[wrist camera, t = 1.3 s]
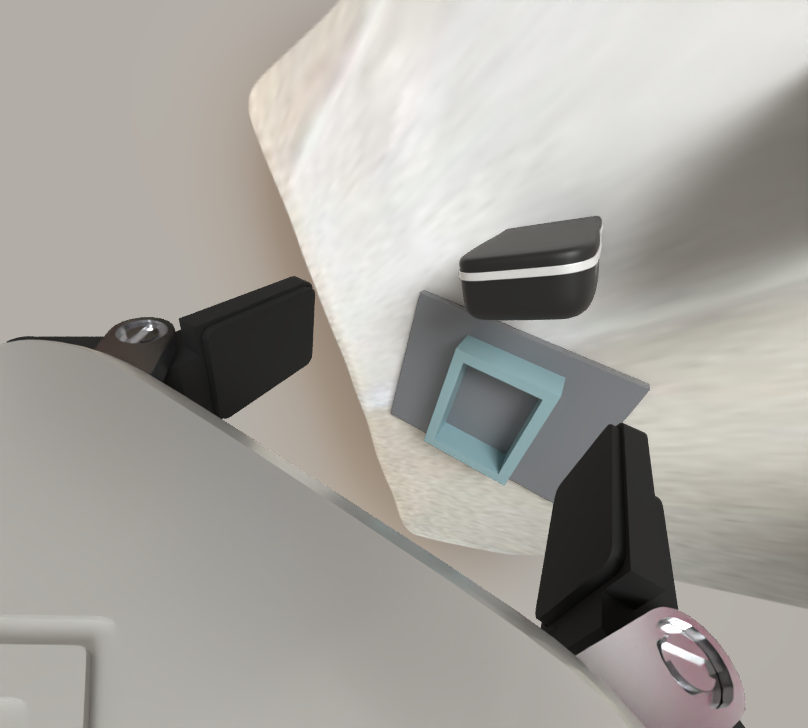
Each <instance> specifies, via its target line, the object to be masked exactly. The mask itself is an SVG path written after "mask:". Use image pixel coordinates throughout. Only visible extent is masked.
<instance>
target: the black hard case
mask: <svg viewBox="0 0 808 728" xmlns="http://www.w3.org/2000/svg"><path fill="white" fill-rule="evenodd" d="M602 232H603V226H602V220H601V218H600V217H599V216H593V217H586V218H579V219H572V220H565V221H558V222H551V223H545V224H538V225H531V226H524V227H518V228H511V229H507V230H505V231H503V232H502V233H500V234H499V235H497V236H495V237H494V238H492V239H490V240H488V241H486V242H485V243H483V244H481V245H479V246H478V247H476V248H474V249H473V250H471V251H470V252H468V253H467V254H465V255H464V256H463V257H462V258H461V259H460V269H459V278H460V279H461V281H462V289H463V297H464V303H465V307H466V310H467V311H468V313H469V314H470V315H471V316H473V317H474V318H476V319H481V320H550V319H567V318H571V317H574V316H578V315H579V314H581V313H582V312H584V311H585V310H586V309H587V308H588V307H589V305H590V303H591V302H592V300H593V297H594V294H595V291H596V287H597V281H598V271H599V257H600V254H601V244H602V241H601V234H602Z"/></svg>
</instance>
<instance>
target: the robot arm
mask: <svg viewBox="0 0 808 728" xmlns="http://www.w3.org/2000/svg"><path fill="white" fill-rule="evenodd" d="M314 304H315V292H314V290H313V289H312V285H311V284H310V283H309V282H307V281H304V280H302V279H300V278H298V277H295V276H293V277H289V278H287V279H284V280H281V281H279V282H276V283H273V284H271V285H268V286H265V287H262V288H260V289H257V290H254V291H252V292H249V293H247V294H244V295H241V296H238V297H236V298H233V299H230V300H228V301H225V302H222V303H220V304H217V305H214V306H211V307H209V308H206V309H203V310H201V311H198V312H195V313H193V314H190V315H187V316H185V317H182V318H179V322H180V327H181V330H179V331H176V332H175V328H174V326H173V324H172V323H170V322H169V321H167V320H164V319H161V318H154V317H141V318H135V319H130V320H126V321H123V322H121V323H119V324H117V325H115V326H114V327H112V328H111V329H110V330H109V331H108V333H107V334H106V335H105V336H104V337H33V336H32V337H31V336H27V337H19V338H15V339H12V340H9V341H7V343H3V344H0V728H745V727H744V726H743V724H742V723H741V721H740V719H741V717H742V715H743V713H744V711H745V693H744V689H743V686H742V683H741V680H740V677H739V675H738V673H737V671H736V669H735V667H734V665H733V663H732V661H731V659H730V658H729V656H728V655H727V654H726V652H725V651H724V650H723V648H722V647H721V645H720V644H719V643H718V641H717V640H716V639H715V638H714V637H713V636H712V635H711V634H710V633H709V632H708V631H707V630H706V629H705V628H704V627H703V626H702V625H700V624H699V623H698V622H696V621H695V620H694V619H692V618H691V617H690V616H688V615H686V614H684V613H682V612H680V611H678V606H677V599H676V593H675V585H674V578H673V571H672V565H671V558H670V551H669V544H668V537H667V531H666V524H665V517H664V510H663V505H662V502H661V500H660V499H659V498H658V497H656V496H655V493H654V485H653V477H652V469H651V462H650V454H649V446H648V438H647V434H646V433H644V432H642V431H640V430H637V429H635V428H633V427H631V426H628V425H626V424H624V423H619V424H618V425H617V426H614V425H612V424H609V425H607V426H606V428H605V429H604V430H603V431H602V433H601V434H600V435H599V436H598V438H597V439H596V440H595V441H594V443H593V444H592V445H591V446H590V448H589V449H588V450H587V451H586V453H585V454H584V455H583V456H582V458H581V459H580V460H579V461H578V463H577V464H576V465H575V466H574V468H573V469H572V470H571V471H570V473H569V474H568V475H567V476H566V478H565V479H564V480H563V481H562V483H561V484H560V485H559V487H558V489H557V491H556V494H555V498H554V504H553V510H552V516H551V522H550V528H549V534H548V540H547V546H546V552H545V558H544V564H543V570H542V575H541V581H540V587H539V593H538V599H537V605H536V613H535V614H536V618H537V619H538V620H540V621H541V622H542V624H541V628H539V627H538V626H537V625H535V624H534V623H532V622H531V621H530V620H528V619H527V618H526V617H524V616H523V615H522V614H520V613H519V612H517V611H516V610H515V609H513V608H512V607H510V606H509V605H507V604H505V603H504V602H503V601H501V600H500V599H498V598H497V597H495V596H494V595H492V594H491V593H489V592H488V591H486V590H484V589H483V588H482V587H480V586H479V585H477V584H476V583H474V582H473V581H471V580H470V579H468V578H467V577H465V576H464V575H462V574H461V573H459V572H458V571H456V570H455V569H453V568H452V567H451V566H449V565H448V564H446V563H445V562H443V561H441V560H440V559H438V558H437V557H435V556H434V555H432V554H431V553H429V552H428V551H426V550H424V549H423V548H421V547H420V546H418V545H416V544H415V543H413V542H412V541H410V540H409V539H407V538H406V537H404V536H403V535H401V534H400V533H398V532H396V531H395V530H394V529H392V528H390V527H389V526H387V525H386V524H384V523H383V522H381V521H380V520H378V519H377V518H375V517H373V516H372V515H370V514H369V513H367V512H366V511H364V510H363V509H361V508H360V507H358V506H357V505H355V504H353V503H352V502H350V501H349V500H347V499H346V498H344V497H343V496H341V495H339V494H338V493H336V492H335V491H333V490H332V489H330V488H329V487H327V486H325V485H324V484H322V483H321V482H319V481H318V480H316V479H314V478H313V477H311V476H310V475H308V474H307V473H305V472H304V471H302V470H300V469H299V468H297V467H295V466H294V465H292V464H291V463H289V462H288V461H286V460H285V459H283V458H282V457H280V456H279V455H277V454H275V453H274V452H272V451H271V450H269V449H268V448H266V447H264V446H263V445H261V444H260V443H258V442H257V441H255V440H254V439H252V438H250V437H249V436H247V435H246V434H244V433H242V432H241V431H239V430H238V429H236V428H235V427H233V426H231V425H230V424H228V423H227V422H225V421H223V420H222V419H223V418H225V419H226V418H229V417H231V416H232V415H234V414H235V413H237V412H238V411H240V410H241V409H242V408H244V407H246V406H247V405H249V404H250V403H251V402H253V401H254V400H256V399H257V398H259V397H260V396H262V395H263V394H264V393H266V392H268V391H269V390H271V389H272V388H273V387H275V386H276V385H278V384H279V383H281V382H282V381H284V380H285V379H287V378H288V377H290V376H291V375H293V374H294V373H296V372H297V371H298V370H300V369H301V368H303V367H304V366H306V365H307V364H308V363H309V362H310V360H311V358H312V347H313V326H314Z"/></svg>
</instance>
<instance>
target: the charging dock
mask: <svg viewBox="0 0 808 728" xmlns="http://www.w3.org/2000/svg"><path fill="white" fill-rule="evenodd" d="M649 390H650V386H649V384H647V383H645V382H643V381H640V380H638V379H635V378H633V377H631V376H628V375H626V374H623V373H621V372H619V371H616V370H614V369H611V368H609V367H607V366H604V365H602V364H599V363H597V362H595V361H592V360H590V359H587V358H585V357H583V356H580V355H578V354H575V353H573V352H571V351H568V350H566V349H563V348H561V347H559V346H556V345H554V344H551V343H549V342H547V341H544V340H542V339H540V338H537V337H535V336H532V335H530V334H528V333H525V332H523V331H520V330H518V329H516V328H513V327H511V326H508V325H506V324H504V323H501V322H499V321H496V320H481V319H476V318H474V317H473V316H471V315H470V314H469V313H468V311H467V310H466V308H465V307H463V306H460V305H458V304H456V303H453V302H451V301H448V300H446V299H444V298H441V297H439V296H437V295H434V294H432V293H429V292H427V291H425V290H424V291H422V292H421V293H420V296H419V300H418V304H417V308H416V312H415V316H414V320H413V324H412V328H411V332H410V337H409V341H408V345H407V349H406V353H405V357H404V361H403V365H402V369H401V373H400V378H399V382H398V386H397V390H396V394H395V398H394V402H393V406H392V410H391V414H392V415H394V416H396V417H398V418H400V419H402V420H403V421H405V422H407V423H409V424H411V425H412V426H414V427H416V428H418V429H420V430H421V431H423V432H425V433H426V436H425V439H424V441H425V442H427V443H429V444H431V445H432V446H434V447H436V448H438V449H440V450H441V451H443V452H445V453H447V454H449V455H450V456H452V457H454V458H456V459H457V460H459V461H461V462H463V463H465V464H466V465H468V466H470V467H472V468H474V469H475V470H477V471H479V472H481V473H482V474H484V475H486V476H488V477H490V478H491V479H493V480H495V481H497V482H499V483H500V484H502V485H505V484H506V482H507V481H508V479H510V480H512V481H514V482H516V483H518V484H519V485H521V486H523V487H525V488H527V489H528V490H530V491H532V492H534V493H536V494H538V495H539V496H541V497H543V498H545V499H547V500H548V501H550V502H552V503H554V498H555V494H556V491H557V489H558V487H559V485H560V484H561V483H562V481H563V480H564V479H565V478H566V476H567V475H568V474H569V473H570V471H571V470H572V469H573V468H574V466H575V465H576V464H577V463H578V461H579V460H580V459H581V458H582V456H583V455H584V454H585V453H586V451H587V450H588V449H589V448H590V446H591V445H592V444H593V443H594V441H595V440H596V439H597V438H598V436H599V435H600V434H601V433H602V431H603V430H604V429H605V428H606V426H607V425H609V424H612V425H614V426H617V425H618V424H619V423H623V421H624V420H625V419H626V418H627V417H628V415H629V414H630V413H631V412H632V411H633V409H634V408H635V407H636V406H637V405H638V403H639V402H640V401H641V400H642V399H643V397H644V396H645V395H646V394H647V393H648V391H649Z"/></svg>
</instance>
